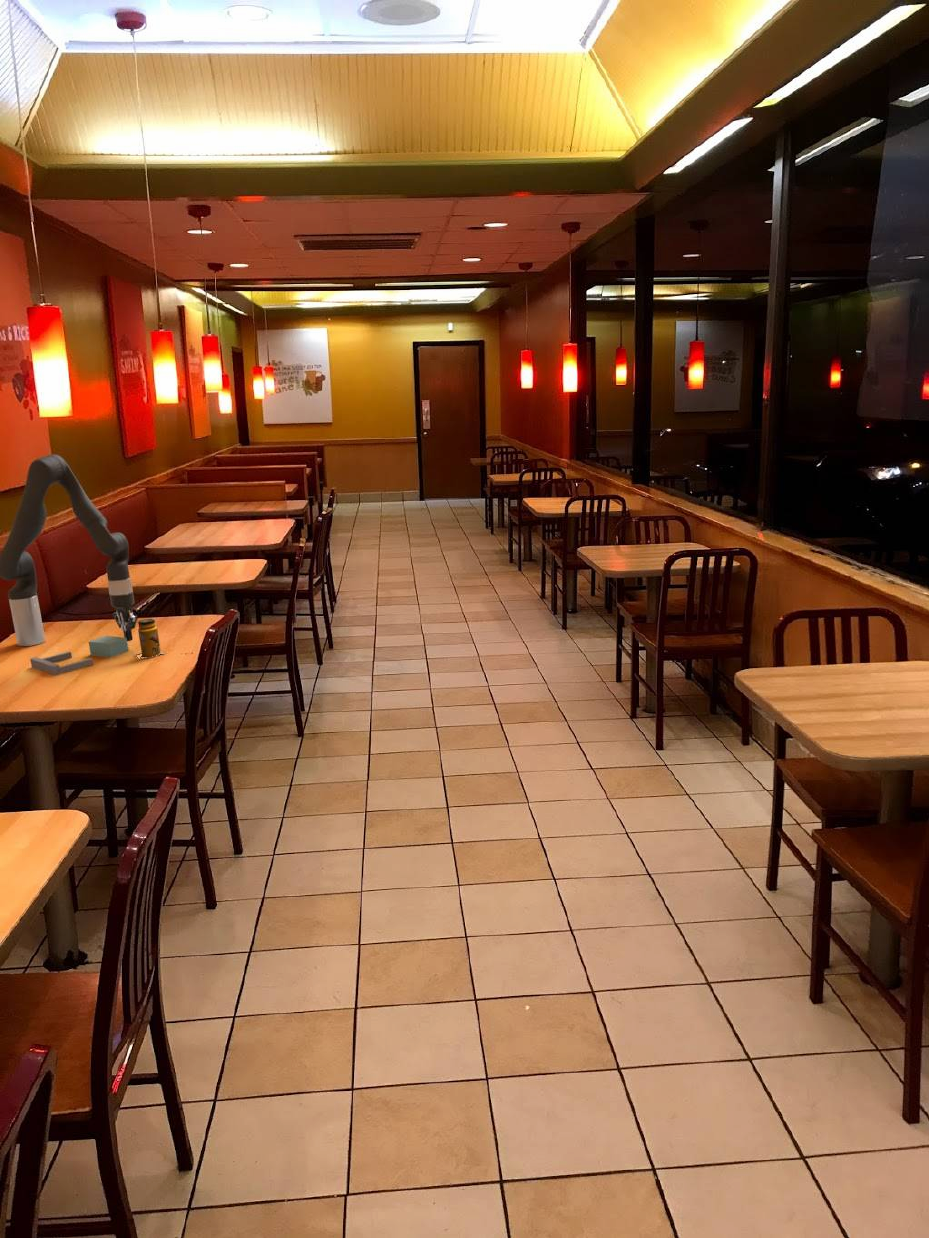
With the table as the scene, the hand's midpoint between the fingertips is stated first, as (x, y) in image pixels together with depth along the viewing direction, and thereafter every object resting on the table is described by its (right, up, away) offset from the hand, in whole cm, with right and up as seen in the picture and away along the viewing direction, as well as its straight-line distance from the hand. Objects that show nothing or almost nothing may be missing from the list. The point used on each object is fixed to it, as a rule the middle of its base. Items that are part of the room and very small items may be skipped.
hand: (128, 640), depth 319 cm
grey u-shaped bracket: (-16, -8, -17) cm, 24 cm away
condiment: (+10, -5, -10) cm, 15 cm away
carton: (-5, -4, -5) cm, 8 cm away
